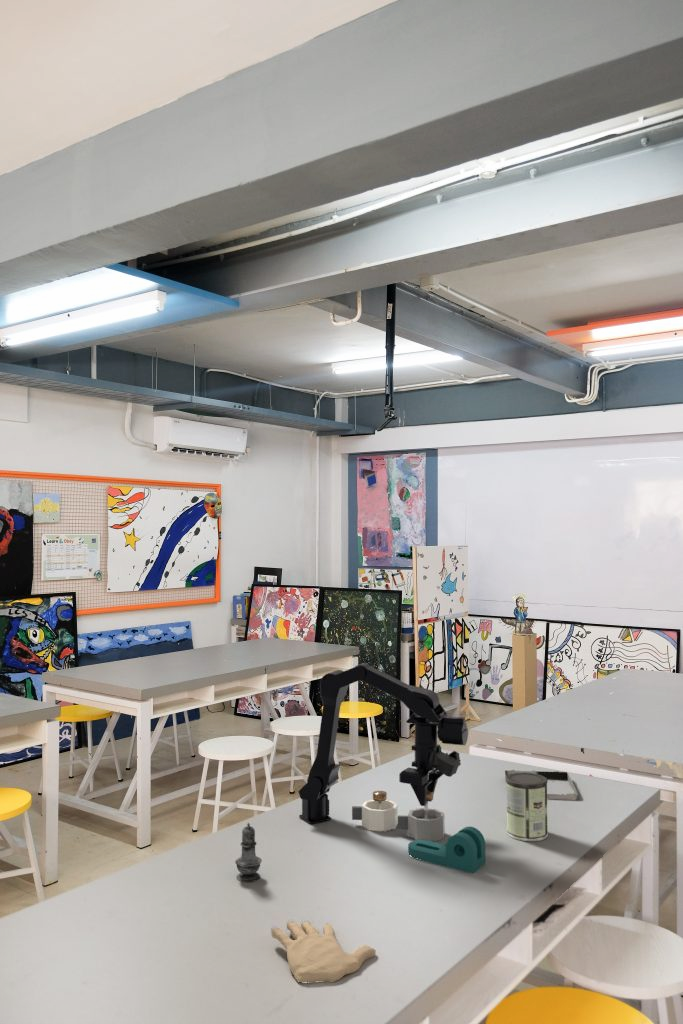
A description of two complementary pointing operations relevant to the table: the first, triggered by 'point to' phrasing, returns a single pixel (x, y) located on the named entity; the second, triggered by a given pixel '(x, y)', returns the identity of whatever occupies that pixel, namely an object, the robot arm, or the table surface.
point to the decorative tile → (552, 776)
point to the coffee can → (527, 806)
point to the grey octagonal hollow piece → (423, 824)
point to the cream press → (377, 815)
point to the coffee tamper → (428, 798)
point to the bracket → (453, 850)
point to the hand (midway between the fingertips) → (426, 803)
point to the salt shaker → (248, 857)
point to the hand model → (318, 953)
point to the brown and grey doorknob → (379, 797)
